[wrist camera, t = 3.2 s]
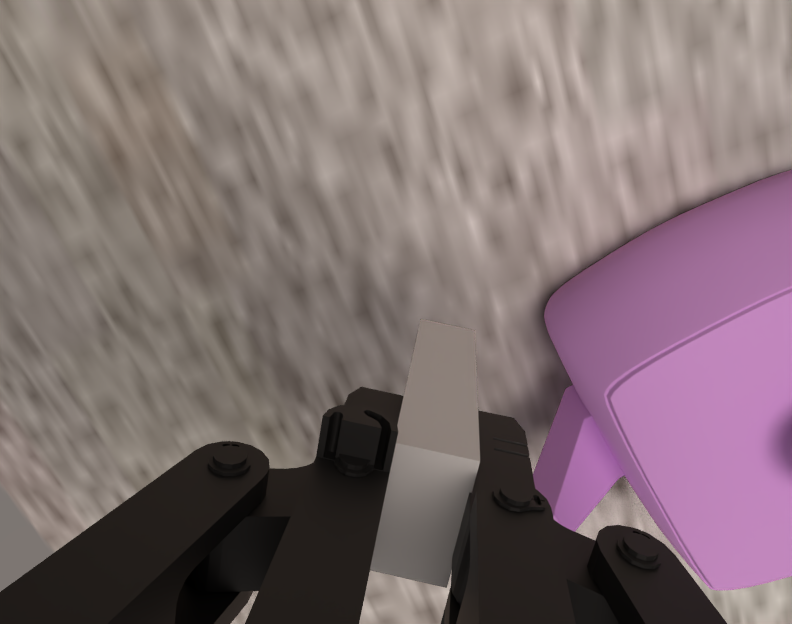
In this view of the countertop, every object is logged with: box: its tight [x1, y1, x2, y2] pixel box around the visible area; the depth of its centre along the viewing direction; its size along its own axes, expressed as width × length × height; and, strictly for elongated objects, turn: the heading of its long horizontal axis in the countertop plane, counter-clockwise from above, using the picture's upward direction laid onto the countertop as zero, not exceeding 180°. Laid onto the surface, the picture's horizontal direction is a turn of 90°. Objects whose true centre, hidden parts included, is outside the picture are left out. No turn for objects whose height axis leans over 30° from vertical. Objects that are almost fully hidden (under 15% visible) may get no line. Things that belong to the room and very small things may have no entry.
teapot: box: [533, 170, 792, 590], centre depth 20 cm, size 18×10×10 cm, turn 121°
